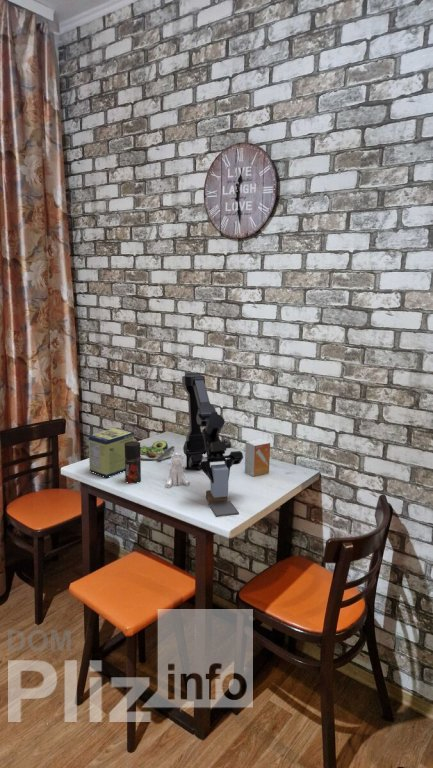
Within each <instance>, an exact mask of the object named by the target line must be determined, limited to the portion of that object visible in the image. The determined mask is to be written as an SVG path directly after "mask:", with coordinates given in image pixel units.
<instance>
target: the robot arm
mask: <svg viewBox="0 0 433 768" xmlns="http://www.w3.org/2000/svg"><path fill="white" fill-rule="evenodd" d="M205 376H206V375H202V374H201V372H187V373H184V375H183V376H182V377H181V382H182V385H183V390H184V391H185V393H186V394H187V397H188V398H187V399H188V400H187V402H188V423H189V431H188V432H187V434H186V437H185V441H184V444H183V449H182V450H183V453H184V454H183V455H185V457H186V459H185V460H186V462H185V463H186V466H185V470H189V471H191V470H192V471H202V472H203V473H204V474H205V475H206V476H207V478H208V480H210V481H211V482H212V483H214V480H213V475H212V471H211V463H219V462H224V464H225V465H226V467H227V468H228V469H229V474H230V472H231V471H230V470H231V467H233V466H234V465H239V464H241V462H242V460H243V459H244V455H243V452H242V451H241V450H235V451H234V450H233V451H230V453H229V455H227V454H226V455H224V454H225V453H226V451H227V449H231V448H232V443H231V439H230V438H225V439H223V441H222V440H221V439H220V433H221V432H222V430H223V428H224V425H225V418H224V417H223V416H222V415H220V414H218V412H217V410H216V408H215V407H214V406H213V405H212V404H211V402H210V399H209V398H210V397H209V394H208V390H207V387H206V377H205ZM202 427H204V428H203V429H202ZM201 429H202V430H201ZM203 455H206V456H203ZM229 477H230V475H229V476H228V482H229V481H230V480H229Z"/></svg>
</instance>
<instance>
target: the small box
mask: <svg viewBox="0 0 433 768" xmlns="http://www.w3.org/2000/svg"><path fill="white" fill-rule="evenodd" d="M244 446H245V450H244V473H246V474H248V475H249V476H252V477H257V476H261V475H266V474H270V461H271V460H270V458H271V442H270V441H268V440H265V439H263V438H259V439H258V438H257V439H253V440H249V441H245V445H244Z"/></svg>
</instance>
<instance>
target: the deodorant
mask: <svg viewBox="0 0 433 768" xmlns="http://www.w3.org/2000/svg"><path fill="white" fill-rule="evenodd" d="M140 447H141V442H139V441H136V440H134V441H130V442H126V443H125V472H124V473H125V474H124V475H125V477H124V478H125V480H126V481H125V480H124V481H125V483H126V482H128V483H127V484H129V483H135V484H138V483H137V482H139V483H140V482H141V481H142V467H141V466H142V464H141V461H142V459H141V457H142V455H141V453H140Z"/></svg>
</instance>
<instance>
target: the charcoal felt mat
mask: <svg viewBox="0 0 433 768" xmlns="http://www.w3.org/2000/svg"><path fill="white" fill-rule="evenodd" d="M207 505H208V507H209V508H210V509H211V511H212V513H213V514H214V516H215V517H216V518H218V517H227V516H237V515H240V512H239V511H238V509H237V507H236V506H235V505H234V504H233V502H232V501H231V500H228V501H220V502H211V503H207Z"/></svg>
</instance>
